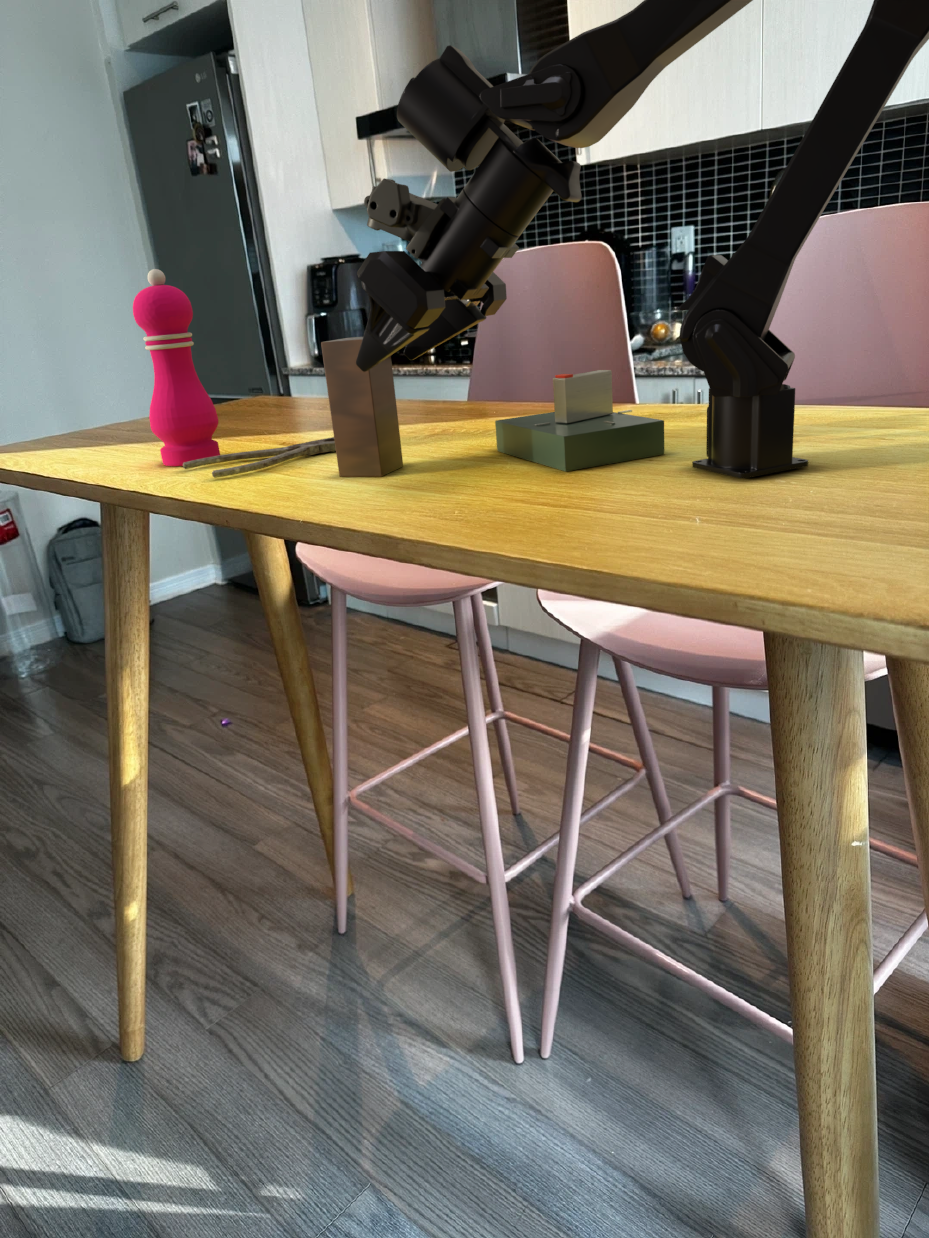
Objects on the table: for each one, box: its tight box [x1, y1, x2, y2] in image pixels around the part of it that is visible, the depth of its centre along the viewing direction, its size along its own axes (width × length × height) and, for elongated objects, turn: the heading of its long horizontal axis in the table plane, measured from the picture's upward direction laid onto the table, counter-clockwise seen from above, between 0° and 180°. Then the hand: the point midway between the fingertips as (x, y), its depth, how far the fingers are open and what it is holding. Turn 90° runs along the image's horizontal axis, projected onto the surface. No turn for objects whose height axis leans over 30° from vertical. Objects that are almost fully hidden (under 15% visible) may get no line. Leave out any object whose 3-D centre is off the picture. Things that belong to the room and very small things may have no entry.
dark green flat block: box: [494, 409, 665, 472], centre depth 83 cm, size 14×11×3 cm
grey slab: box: [552, 369, 614, 424], centre depth 81 cm, size 6×2×4 cm, turn 127°
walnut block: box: [320, 336, 404, 478], centre depth 81 cm, size 4×4×12 cm
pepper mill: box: [132, 268, 221, 467], centre depth 95 cm, size 7×7×20 cm
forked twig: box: [182, 436, 336, 479], centre depth 95 cm, size 10×1×20 cm
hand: (385, 362), depth 79 cm, fingers open, 9 cm apart
